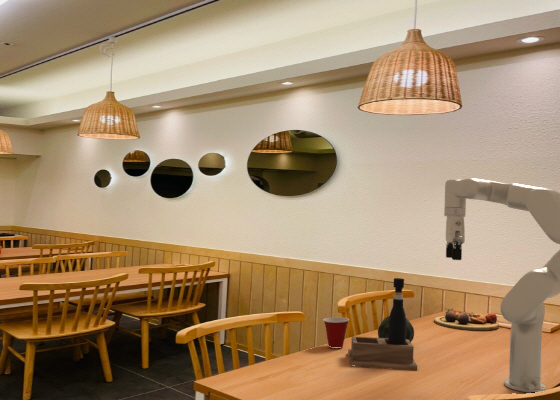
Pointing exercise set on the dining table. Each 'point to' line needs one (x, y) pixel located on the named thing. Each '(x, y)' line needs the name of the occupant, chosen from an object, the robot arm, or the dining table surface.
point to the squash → (384, 329)
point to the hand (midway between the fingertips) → (453, 258)
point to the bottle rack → (381, 353)
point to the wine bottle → (397, 316)
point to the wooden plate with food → (467, 321)
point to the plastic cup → (336, 331)
